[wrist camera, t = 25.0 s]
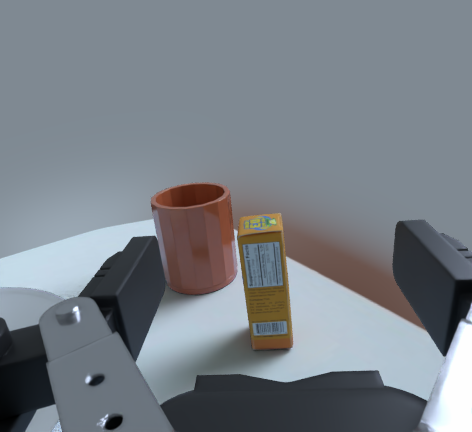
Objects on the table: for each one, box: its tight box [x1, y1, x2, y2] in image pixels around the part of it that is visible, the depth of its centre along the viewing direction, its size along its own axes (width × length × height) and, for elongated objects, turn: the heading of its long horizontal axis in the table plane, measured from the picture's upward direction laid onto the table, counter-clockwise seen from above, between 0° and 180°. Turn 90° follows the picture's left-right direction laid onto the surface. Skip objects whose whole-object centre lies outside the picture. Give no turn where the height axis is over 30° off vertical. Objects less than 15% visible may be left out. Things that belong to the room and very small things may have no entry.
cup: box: [151, 183, 237, 295], centre depth 37 cm, size 8×8×9 cm
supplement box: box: [237, 213, 293, 350], centre depth 27 cm, size 3×3×10 cm
